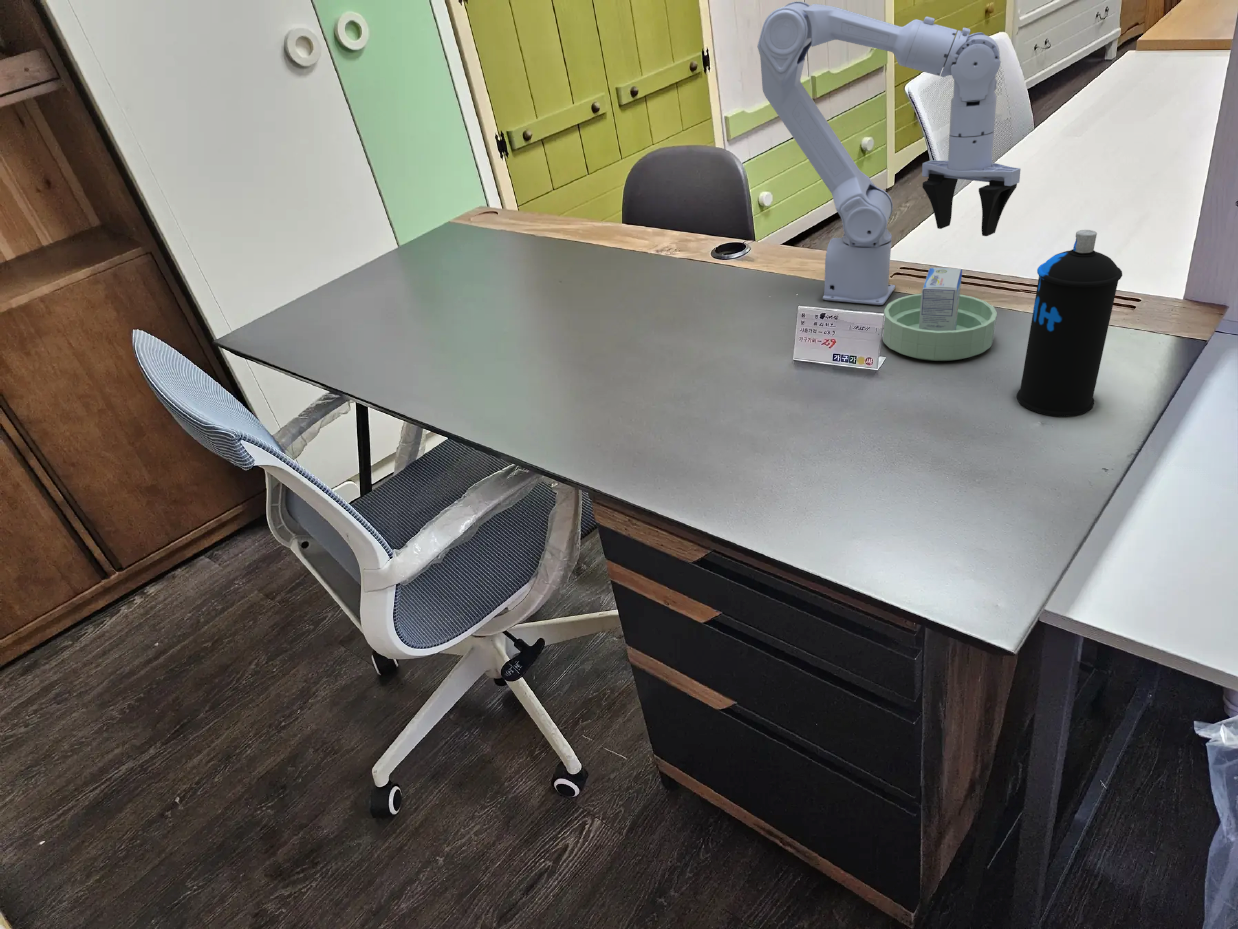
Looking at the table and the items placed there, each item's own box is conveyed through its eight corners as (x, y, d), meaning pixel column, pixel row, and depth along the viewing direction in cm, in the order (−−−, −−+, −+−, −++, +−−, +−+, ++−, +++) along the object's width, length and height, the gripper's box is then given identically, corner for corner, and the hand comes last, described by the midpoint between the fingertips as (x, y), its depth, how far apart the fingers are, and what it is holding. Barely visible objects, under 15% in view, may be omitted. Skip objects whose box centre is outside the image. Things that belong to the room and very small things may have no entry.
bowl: (870, 356, 114) (872, 325, 112) (896, 317, 125) (898, 288, 122) (982, 370, 108) (986, 337, 105) (999, 327, 118) (1004, 297, 116)
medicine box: (951, 350, 112) (958, 288, 108) (916, 348, 114) (921, 286, 109) (956, 327, 118) (963, 267, 114) (922, 325, 120) (928, 266, 115)
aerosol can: (1089, 386, 101) (1125, 220, 91) (1098, 419, 95) (1137, 244, 84) (1014, 382, 104) (1040, 221, 94) (1018, 414, 98) (1046, 244, 87)
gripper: (1037, 128, 113) (1028, 229, 119) (946, 124, 124) (941, 216, 130) (1004, 140, 110) (996, 243, 116) (913, 134, 121) (911, 229, 127)
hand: (965, 230), depth 123 cm, fingers open, 7 cm apart
